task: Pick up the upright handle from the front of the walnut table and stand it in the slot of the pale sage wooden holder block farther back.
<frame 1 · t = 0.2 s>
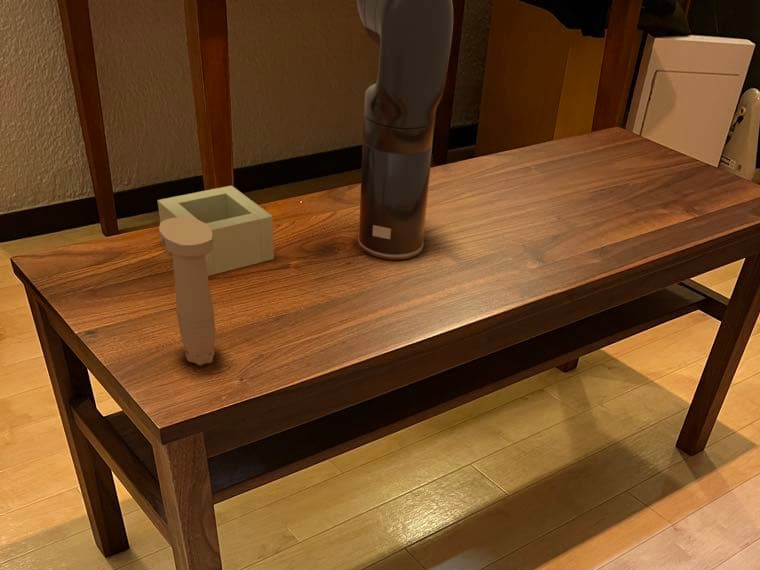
handle: (201, 360, 91), on the table
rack: (218, 251, 109), on the table
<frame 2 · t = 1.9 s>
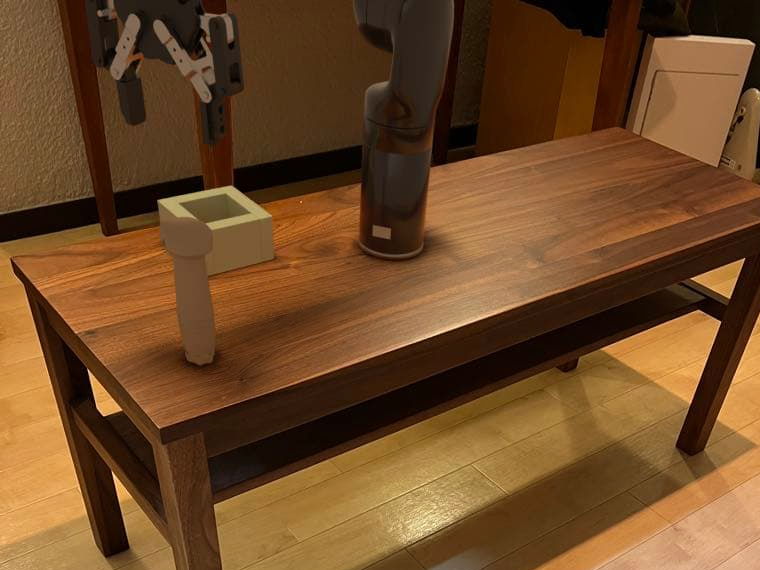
hand: (174, 133, 74), 24 cm above the table, tool pointing down, fingers open, 8 cm apart
nothing on the table moved.
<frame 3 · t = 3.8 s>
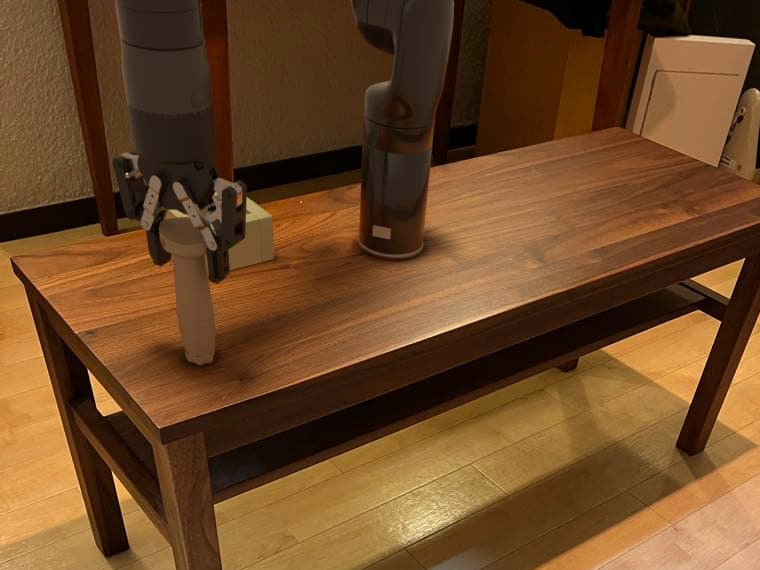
hand: (190, 270, 83), 11 cm above the table, tool pointing down, fingers closed on handle, 6 cm apart
handle: (201, 360, 91), on the table, touching gripper
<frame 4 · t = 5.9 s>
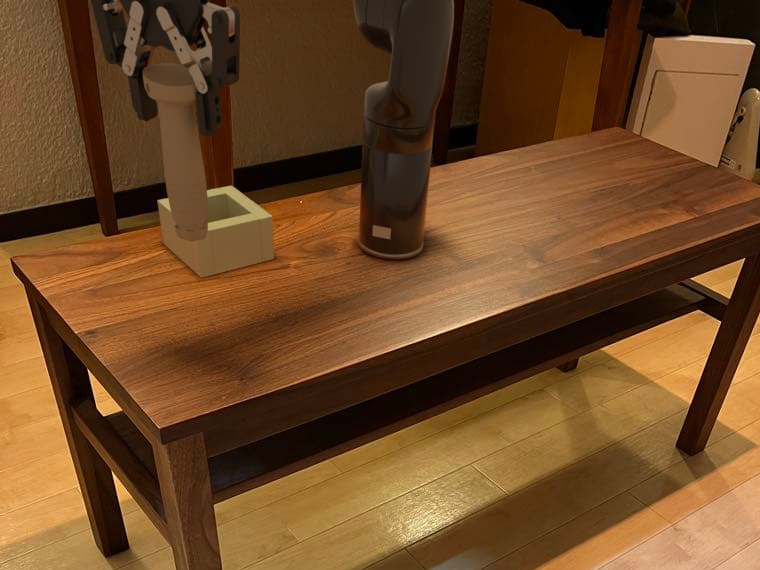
hand: (178, 125, 75), 24 cm above the table, tool pointing down, fingers closed on handle, 6 cm apart
handle: (192, 237, 83), point 14 cm above the table, touching gripper
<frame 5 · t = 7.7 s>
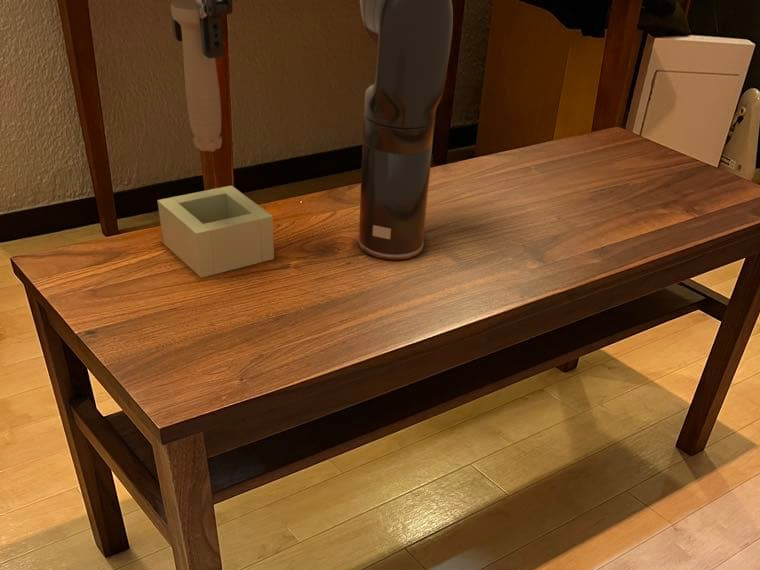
hand: (198, 47, 89), 25 cm above the table, tool pointing down, fingers closed on handle, 6 cm apart
handle: (208, 149, 97), point 14 cm above the table, touching gripper
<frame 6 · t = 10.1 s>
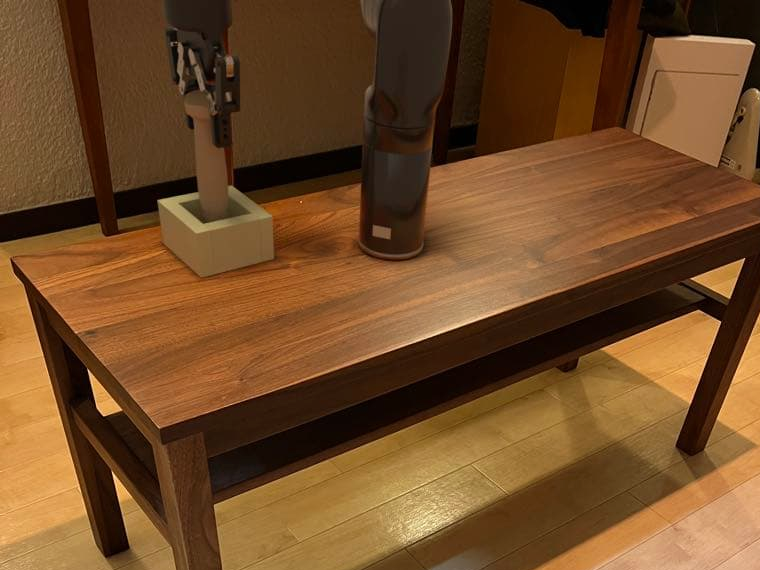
hand: (208, 136, 99), 15 cm above the table, tool pointing down, fingers closed on handle, 6 cm apart
handle: (216, 222, 107), point 4 cm above the table, touching gripper
when the fingers open (11 cm above the table, at t = 11.9 s): handle stays where it is, resting in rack.
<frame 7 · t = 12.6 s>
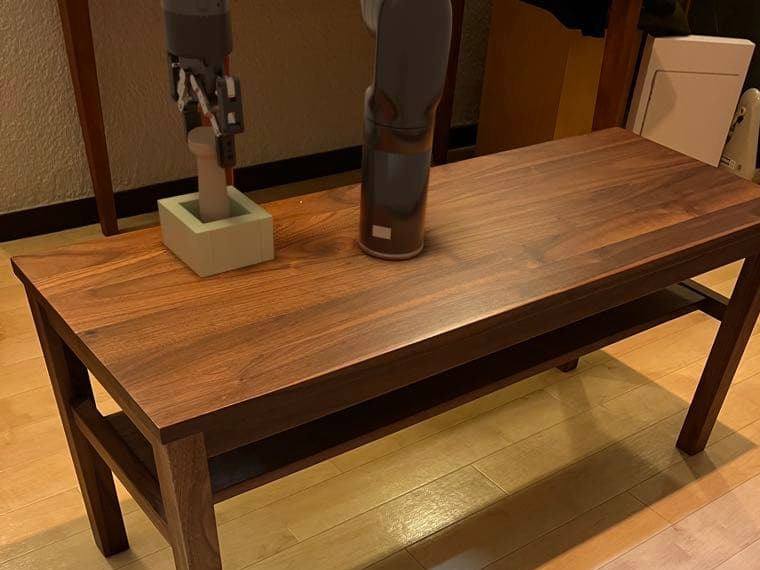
hand: (210, 154, 100), 13 cm above the table, tool pointing down, fingers open, 8 cm apart
handle: (218, 253, 109), resting in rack
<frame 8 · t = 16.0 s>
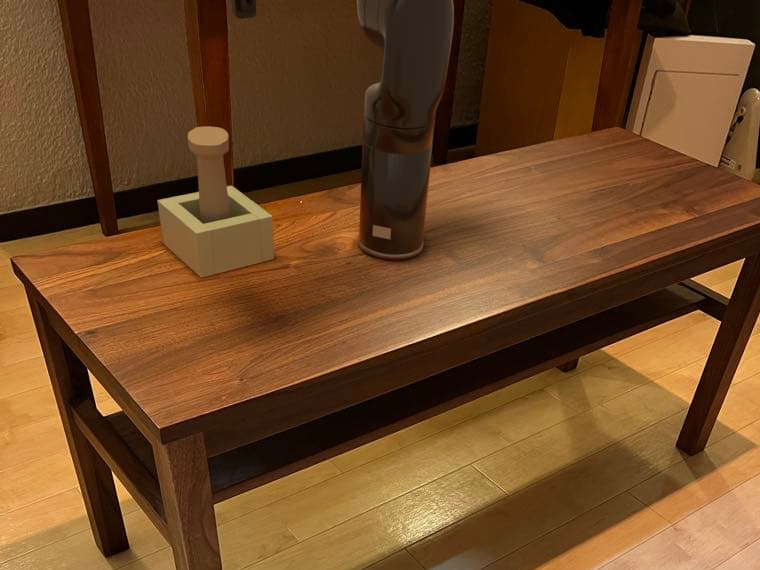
hand: (222, 5, 77), 32 cm above the table, tool pointing down, fingers open, 8 cm apart
nothing on the table moved.
at the end: handle 0.1 cm off-centre in the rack, point 0.0 cm above the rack's base; handle tilted 0°; the gripper is holding nothing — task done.
